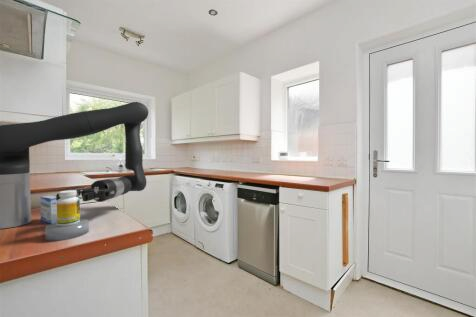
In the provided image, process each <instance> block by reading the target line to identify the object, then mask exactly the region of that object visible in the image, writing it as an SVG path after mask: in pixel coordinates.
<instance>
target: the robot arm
mask: <svg viewBox="0 0 476 317" xmlns="http://www.w3.org/2000/svg"><path fill="white" fill-rule="evenodd" d="M148 116H149V109H148V107H147V106H146V105H145V104H144V103H141V102H140V101H139V102H138V101H131V102H129V103H125V104H122V105H118V106H114V107H108V108H99V109H92V110H84V111H77V112H73V113H69V114H64V115H63V114H62V115H59V116H54V117H52V118H48V119H44V120H38V121H31V122H20V123H10V124H9V123H8V124H7V123H6V124H0V229H8V228H9V229H11V228H15V227H19V226H24V225H27V224H30V223H31V222H32V202H31V200H32V199H31V174H30V173H31V172H30V168H31V167H30V164H31V163H30V148H31V147H34V146H37V145H41V144H45V143H48V142H54V141H63V140H70V139H77V138H83V137H86V136H91V135H95V134H98V133H101V132H104V131H106V130H109V129H111V128H114V127H117V126H120V125H124V133H125V134H124V135H125V155H124V156H125V157H124V158H125V160H124V162H125V164H124V165H125V169H126V170H129V171H133V173H134V175H133V174H132V175H131V174H129V175H123V176H121V177H120V176H119V177H116V178H114V177H113V178H105V179H99V180H96V181H94V182H92V184H91V185H90V186H85V187H81V188H80V187H77V188H73V189H70V190H76V191H77V194H76V197H78V198H79V200H82V202H88V201H89V202H90V201H93V200H94V201H96V202H104V201H108V200H112V199H115V198H118V197H120V196H123V195H126V194H127V193H129V192H143V191H145V190H144V189H145V188H146V187H147V178H146V174H145V170H144V166H143V158H144V157H143V154H144V153H143V146H142V141H141V134H140V133H141V126H142V123H143V122H144V121H146V119H147V118H148ZM68 190H69V189H67V190H63V191H68ZM60 198H61V197H60V196H59V193H57V194H56V200H58V199H60Z"/></svg>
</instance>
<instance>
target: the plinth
mask: <svg viewBox="0 0 476 317" xmlns="http://www.w3.org/2000/svg"><path fill="white" fill-rule="evenodd" d="M89 224H90V223H89V219H87V218H80V222H79V223H77V224H75V225H70V226H58V225H57V222H56V223H53V224H51V223H49V224H48V225H46V226H45V227H44V229H45V230H44V231H45V232H44V235H45V240H46V241H49V242H58V241H66V240H71V239H75V238H78V237H81V236H84V235H87V234H88V233H89V231H90V228H89V227H90V226H89Z"/></svg>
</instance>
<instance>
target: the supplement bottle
mask: <svg viewBox="0 0 476 317" xmlns="http://www.w3.org/2000/svg"><path fill="white" fill-rule="evenodd" d="M67 190H68V191H64V190H62V191H59V192H58V194H59V196H60V197H61V198H60V199H58V200H57V225H58V226H70V225H75V224H77V223H79V222H80V219H81V210H80V209H81V208H80V205H81V204H80V200H81V199H79V198H78V197H76V194H77V191H76V190H71V189H67Z"/></svg>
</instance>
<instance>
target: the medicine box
mask: <svg viewBox="0 0 476 317" xmlns="http://www.w3.org/2000/svg"><path fill="white" fill-rule="evenodd" d="M56 195H57V194H56ZM56 195H44V196H40V221H41V222H43V223H48V224H53V223H56V222H57V200H56Z"/></svg>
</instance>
